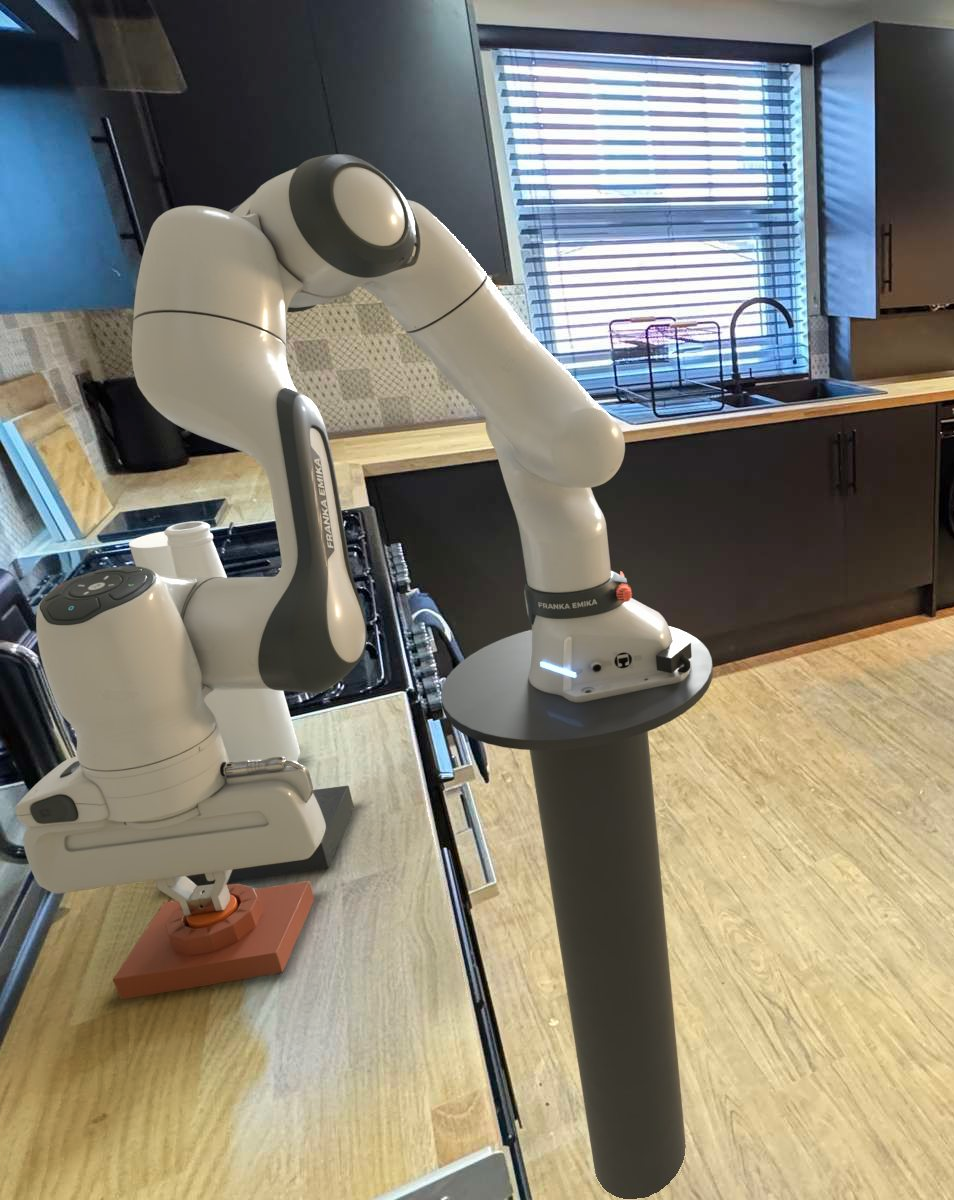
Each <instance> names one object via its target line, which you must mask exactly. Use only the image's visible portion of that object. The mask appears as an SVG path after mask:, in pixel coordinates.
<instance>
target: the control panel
mask: <svg viewBox="0 0 954 1200" xmlns="http://www.w3.org/2000/svg"><path fill="white" fill-rule="evenodd" d="M351 793H352V792H351V790H350V785H341V786H334V787H333V786H332V787H326V788H318V789H317V788H316V789H313V794H314V796H315V798H316V800H317V802H318V805H319V807H320V809H321V812H322V815H323V817H324V820H325V824H326V830H325V833H324V836H323V839H322V841H321V843H320V844H319V846H318V848H317V849H316V850H315V852H314V853H313V854H312V855H311V857H309V858H308V859H304V860H297V861H290V862H283V863H276V864H268V865H261V866H254V867H247V868H240V869H233V870H232V872H231V875H230V877H229V879H228V882H227V883H233V882H241V881H247V880H248V881H249V880H254V879H261V878H269V877H274V876H282V875H289V874H295V873H303V872H309V871H310V872H311V871H316V870H323V869H329V867H330V865H331V863H332V860H333V858H334V856H335V853H336V851H337V849H338V847H339V845H340V842H341V840H342V837H343V835H344V833H345V832H346V831H345V830H346V829H347V826H348V824H349V821H350V820H351V817H352V814H353V813H354V811H355V805H354V802H353V798H352V794H351ZM186 877H187V878H188V879H190V880H191V881H192V882H193V883H194V884H195V885H197V886H202V885H210V884H214V883H215V880H214V881H207V879H206V876H205V873H204V874H197V875H189V876H186Z"/></svg>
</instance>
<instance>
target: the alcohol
mask: <svg viewBox="0 0 954 1200" xmlns="http://www.w3.org/2000/svg"><path fill="white" fill-rule="evenodd" d="M210 529H211V525H210V524H209V523H207V522H205V521H200V520H196V521H195V520H193V521H186V522H180V523H176V524H172V525H169V526H167V528H166V529H165V530H164V534H165V535H166V536H167V537H168V541H167V544H168V546H170V547H171V552H172V557H173V561H174V566H175V571H176V576H177V578H182V577H224V578H228V576H227V574H226V571H225V568H224V566H223V563H222V561H221V559H220V556H219V553H218V551H217V548H216V545H215V543H214V541H213V540H214V535H213V533H212V532H211V531H210ZM204 702H205V703H206V705H207V706H208V707H209V709H210V710H211V711H212V713H213V714H214V716H215V718H216V722H217V724H218V728H219V731H220V734H221V737H222V741H223V744H224V747H225V750H226V754H227V757H228V760H229V762H237V761H247V760H265V759H267V758H272V757H285V758H286V759H287V761H293V762H297V763H298V761H299V758H300V755H301V750H300V746H299V742H298V739H297V735H296V731H295V728H294V724H293V720H292V717H291V714H290V710H289V706H288V703H287V699H286V695H285V691H279V690H273V689H237V690H216V689H214V690H213V691H212V692H210V693H209V694H207V695H206V697H205V698H204ZM287 767H291V766H287Z"/></svg>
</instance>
